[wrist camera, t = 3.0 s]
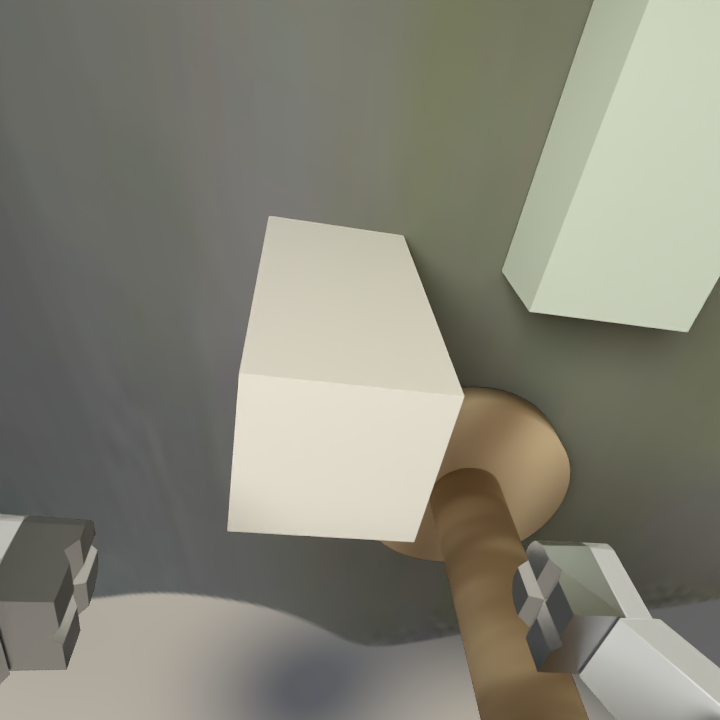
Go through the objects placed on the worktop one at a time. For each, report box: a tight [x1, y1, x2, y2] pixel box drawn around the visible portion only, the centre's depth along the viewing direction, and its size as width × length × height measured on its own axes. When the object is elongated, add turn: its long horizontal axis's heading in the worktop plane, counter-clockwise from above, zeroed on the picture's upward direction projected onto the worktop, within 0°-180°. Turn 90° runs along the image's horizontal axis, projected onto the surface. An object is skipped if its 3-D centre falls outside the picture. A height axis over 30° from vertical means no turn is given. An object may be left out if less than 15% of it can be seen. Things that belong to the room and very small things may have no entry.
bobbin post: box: [379, 387, 589, 720], centre depth 17 cm, size 9×9×18 cm
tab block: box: [227, 216, 464, 542], centre depth 16 cm, size 4×4×9 cm
